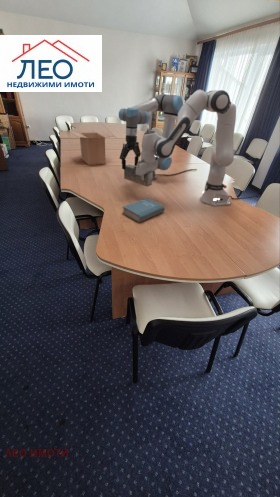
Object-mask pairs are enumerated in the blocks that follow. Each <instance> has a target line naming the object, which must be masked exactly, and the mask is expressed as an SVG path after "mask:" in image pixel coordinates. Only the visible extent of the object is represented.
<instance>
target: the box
mask: <svg viewBox="0 0 280 497" xmlns="http://www.w3.org/2000/svg"><path fill="white" fill-rule="evenodd" d="M70 133H71V134H72V135H74V136H75V137H77V138H79V144H80V153H81V160H83V162H85V163H86V165H87V166H95V165H97V166H98V165H106V163H107V162H106V158H107V157H106V138H113V137H114V136H113V135H111V134H109V133H108V132H105V131H98V132H96V131H95V130H92V129H91V130H77V132H76V131H70Z"/></svg>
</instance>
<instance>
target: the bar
mask: <svg viewBox="0 0 280 497" xmlns="http://www.w3.org/2000/svg"><path fill="white" fill-rule="evenodd" d="M123 174H124V175H123V179H124V180H127V181H130V182H133V183H136V184H137V185H141V186H143V187H147V188H148V187H151V186H152V185H153V180H152V177H153V172H152V171H150V172H147V173H146V174H144V177H145V180H142V177H141V175H140V176H139V175H137V174H136V166H135V165H132V164H126V170H124V169H123Z"/></svg>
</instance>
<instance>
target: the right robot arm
mask: <svg viewBox="0 0 280 497" xmlns="http://www.w3.org/2000/svg"><path fill="white" fill-rule="evenodd" d="M205 110H206V111H207V112H210V113H216V116H217V117H216V118H217V119H216V128H215V145H214V146H213V148H212V149H211V151H210V152H211V154H210V155H211V156H210V164H209V171H208V176H207V179H206V181H205V185H204V189H203V191H202V195H201V197H200V202H202V203H204V204H207V205H210V206H213V207H218V206H219V207H220V206H230V205H231V201H230V198H231V200H243V199H245V200H246V199H251V198H254V197H256V198H259V195H253V196H248V197H246V196H245V197H238V198H235V197H232V195H230V194H228V192H227V191H226V190H225V189H227V185H226V184H224V179H225V176H226V167H229V166H230V165H232V164H233V162H234V160H235V155H234V135H235V127H236V121H237V105H236V103H234V102H232V101H231V98H230V94H229V92H227V91H226V90H223V89H214V90H209V91H207V92H206V91H204V90H203V89H197V90H195V91H194V92H193V93H192V94H191V95H190V96H189V97H188V98H187V99H186V100H185V102H183V106H182V107H181V109H180V110H179V112H178V118H177V123H176V124H175V126H174V130H173V131H172V133H171V134H170V135H169V137H168V138H167V139H166V138H164V137H162V135H161V134H160V135H159V134H158V133H157V132H156V131H154V130H149V131H145V132H144V133H143V135H142V140H141V151H140V153H141V155H140V159H139V160H138V163H137V166H136V174H137V175H139V176H140V175H141V177H142V180H145V177H144V174H146V173H147V172H150V171H155V172H156V171H157V170H158V169H157V167H158V159H159V157H161V158H168V157H169V156H170V157H172V155H173V152H174V149H175V147H176V145H177V143H179V141H180V140H181V139H182V137H183V136H184V135H185V133H186V131H187V130H189V127H190V126H191V125H192V124H193V123H194V122H195V120H196V119H197V118H198V117H199V115H200V114H201V113H202V112H203V111H205ZM155 153H156V154H158V156H159V157H157V156H155Z"/></svg>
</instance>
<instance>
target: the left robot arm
mask: <svg viewBox="0 0 280 497" xmlns="http://www.w3.org/2000/svg"><path fill="white" fill-rule="evenodd" d="M183 104H184V100H183V97H182V96H181V95H177V94H166V93H163V94H159V95H155V96H153V97H150V98H149V99H148V100H146V101H144V102H141V103H138V104H136V105H133V106H131V107H127V108H120V109H119V111H118V118H119V120H120V121H123V122H125V142H126V143H122V149H121V151H120V155H119V160H121V169H122V170H123V171H124V170H126V165H127V160H126V158H127V157H128V154H129V152H130V151H133V153H134V155H135V156H134V166H137V163H138V162H139V161H140V158H141V149H140V144H139V143H140V142H139V141H138V136H137V135H138V126H139V125H146V124H148V123H149V122H150V119H151V118H150V117H151V116H150V113H156V112H160V113H161V112H162V113H163V116H164V119H163V120H164V121H163V127H162V131H161V137H164V138H166V139H167V138H168V137H169V135H170V134H171V133H172V131H173V130H174V129H175V126H176V121H177V119H178V112H179V110H180V109H181V107H182V106H183ZM155 156H157V157H159V156H158V154H157V153H155ZM139 157H140V158H139ZM172 161H173V158H172V156H169V157H168V158H161V157H159V159H158V167H157V170H160V171H167V170H168V169H169V168H170V167H171V165H172ZM188 171H197V168H192V169H186V170H182V171H179V172H177V173H172V174H165V176H167V177H168V176H176V175H179V174H182V173H185V172H188ZM152 172H153V177H152V181H154V180H156V178H157V176H163V174H161V173H160V174H159V173H158V174H157V173H156V170H155V171H152Z"/></svg>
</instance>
